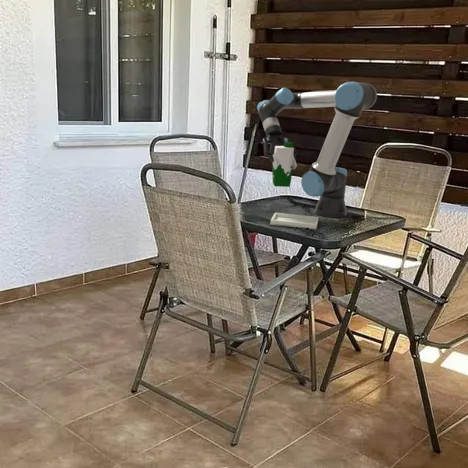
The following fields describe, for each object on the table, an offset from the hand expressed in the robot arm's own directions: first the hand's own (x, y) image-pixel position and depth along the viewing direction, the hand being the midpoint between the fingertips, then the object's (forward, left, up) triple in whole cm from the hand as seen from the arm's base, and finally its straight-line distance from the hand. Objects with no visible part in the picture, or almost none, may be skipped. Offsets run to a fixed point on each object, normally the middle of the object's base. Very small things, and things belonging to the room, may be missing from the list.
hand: (285, 167), depth 280 cm
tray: (-7, +13, -23) cm, 27 cm away
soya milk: (+2, -3, -9) cm, 10 cm away
